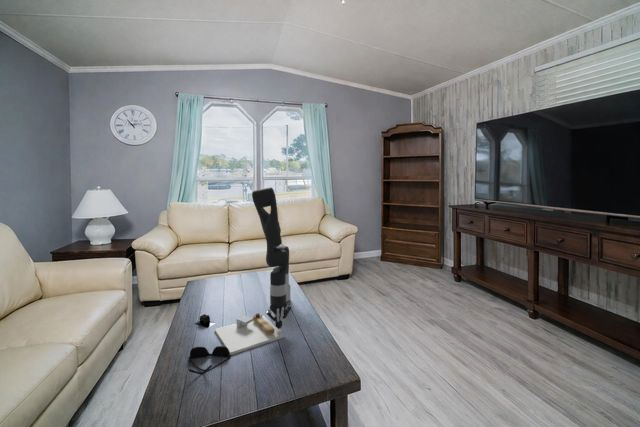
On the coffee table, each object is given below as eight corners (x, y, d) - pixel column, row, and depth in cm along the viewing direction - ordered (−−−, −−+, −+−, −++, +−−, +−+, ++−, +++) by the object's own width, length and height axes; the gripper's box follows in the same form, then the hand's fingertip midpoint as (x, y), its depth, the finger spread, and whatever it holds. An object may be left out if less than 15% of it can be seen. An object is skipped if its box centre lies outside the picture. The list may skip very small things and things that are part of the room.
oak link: (251, 319, 151) (251, 313, 151) (260, 317, 154) (259, 311, 153) (267, 335, 136) (266, 328, 136) (275, 332, 139) (275, 325, 138)
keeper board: (263, 317, 157) (263, 307, 157) (284, 337, 138) (284, 325, 137) (214, 331, 143) (214, 320, 143) (230, 355, 124) (230, 342, 123)
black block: (219, 324, 152) (219, 315, 151) (208, 330, 145) (207, 321, 145) (201, 319, 157) (201, 310, 157) (190, 325, 151) (189, 316, 150)
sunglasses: (175, 380, 109) (174, 368, 108) (190, 357, 123) (189, 345, 123) (222, 378, 110) (221, 366, 109) (231, 355, 124) (231, 344, 124)
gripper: (287, 287, 146) (287, 321, 148) (261, 293, 139) (262, 328, 141) (294, 292, 140) (294, 327, 142) (268, 298, 133) (269, 335, 135)
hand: (278, 327), depth 142 cm, fingers closed
